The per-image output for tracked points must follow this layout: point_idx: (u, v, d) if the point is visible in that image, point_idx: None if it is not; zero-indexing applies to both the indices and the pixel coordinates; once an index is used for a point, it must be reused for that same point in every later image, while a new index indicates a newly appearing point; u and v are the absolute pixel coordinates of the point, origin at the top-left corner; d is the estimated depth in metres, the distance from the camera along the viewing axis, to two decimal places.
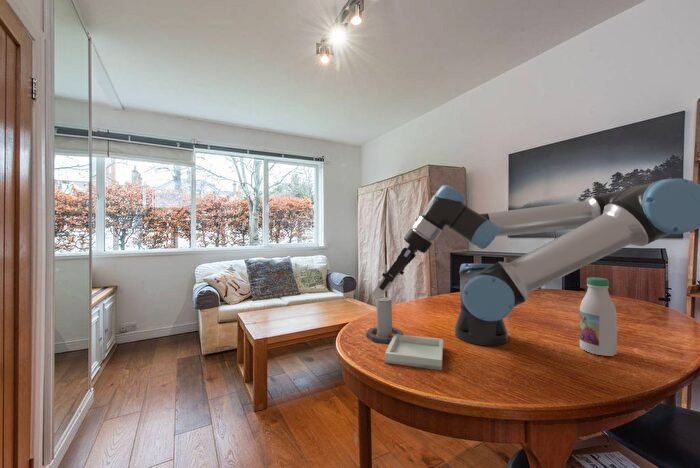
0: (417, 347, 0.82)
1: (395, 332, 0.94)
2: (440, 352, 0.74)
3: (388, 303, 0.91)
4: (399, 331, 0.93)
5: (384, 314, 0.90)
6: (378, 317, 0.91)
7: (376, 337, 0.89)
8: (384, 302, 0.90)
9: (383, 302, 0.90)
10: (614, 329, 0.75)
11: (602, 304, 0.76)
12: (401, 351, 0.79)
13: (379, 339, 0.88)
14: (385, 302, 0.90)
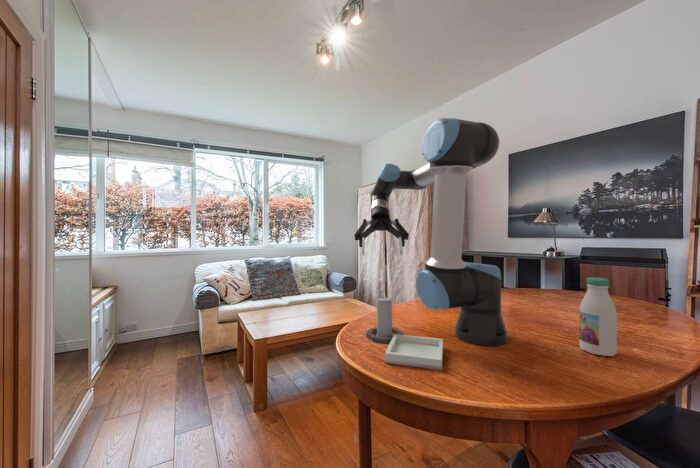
0: (417, 347, 0.82)
1: (395, 332, 0.94)
2: (440, 352, 0.74)
3: (388, 303, 0.91)
4: (399, 331, 0.93)
5: (384, 314, 0.90)
6: (378, 317, 0.91)
7: (376, 337, 0.89)
8: (384, 302, 0.90)
9: (383, 302, 0.90)
10: (614, 329, 0.75)
11: (602, 304, 0.76)
12: (401, 351, 0.79)
13: (379, 339, 0.88)
14: (385, 302, 0.90)
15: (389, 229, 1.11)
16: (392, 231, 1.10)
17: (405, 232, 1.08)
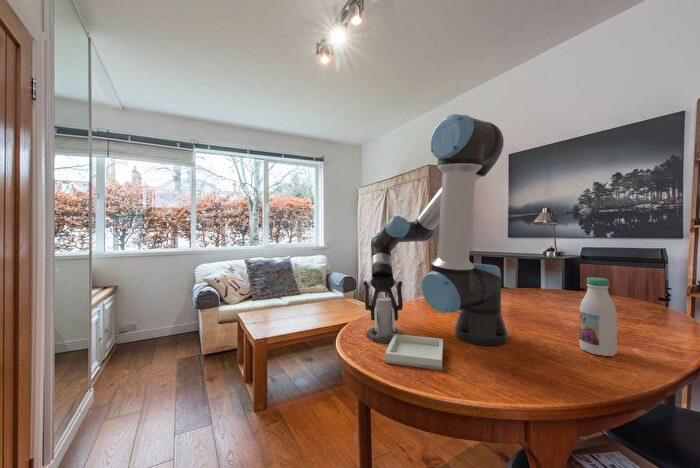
0: (417, 347, 0.82)
1: (395, 332, 0.94)
2: (440, 352, 0.74)
3: (388, 303, 0.91)
4: (399, 331, 0.93)
5: (384, 314, 0.90)
6: (378, 317, 0.91)
7: (376, 337, 0.89)
8: (384, 302, 0.90)
9: (383, 302, 0.90)
10: (614, 329, 0.75)
11: (602, 304, 0.76)
12: (401, 351, 0.79)
13: (379, 339, 0.88)
14: (385, 302, 0.90)
15: (387, 292, 0.98)
16: (389, 296, 0.97)
17: (400, 301, 0.94)
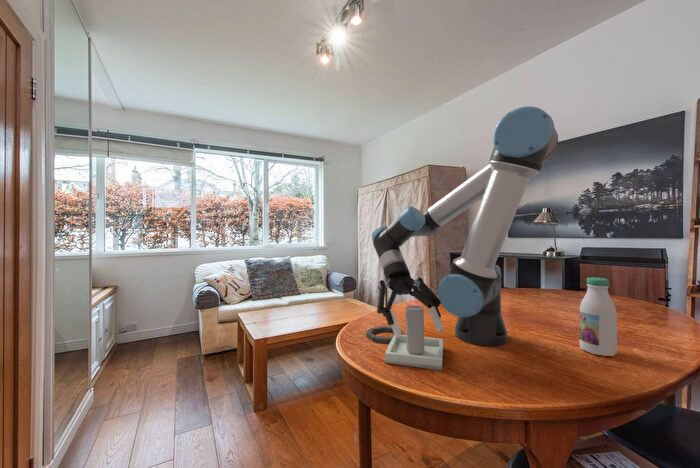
0: None
1: None
2: (440, 352, 0.74)
3: (422, 312, 0.77)
4: None
5: (418, 326, 0.77)
6: (411, 330, 0.77)
7: (376, 337, 0.89)
8: (418, 311, 0.77)
9: (417, 311, 0.77)
10: (614, 329, 0.75)
11: (602, 304, 0.76)
12: (401, 351, 0.79)
13: (379, 339, 0.88)
14: (419, 311, 0.77)
15: (414, 293, 0.85)
16: (419, 296, 0.84)
17: (436, 298, 0.84)
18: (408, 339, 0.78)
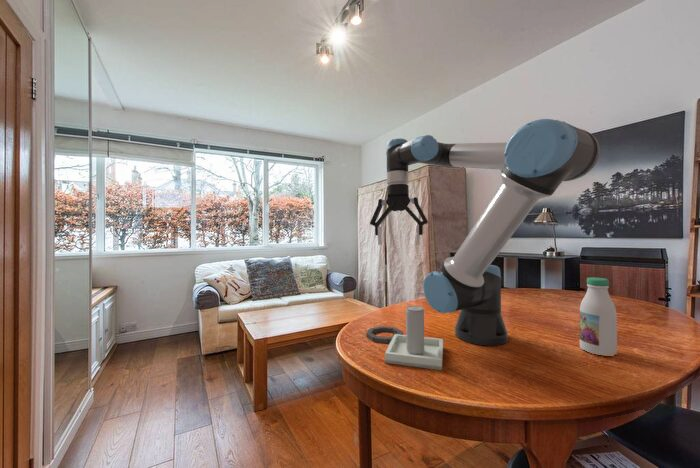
0: None
1: (395, 332, 0.94)
2: (440, 352, 0.74)
3: (422, 312, 0.77)
4: (399, 331, 0.93)
5: (419, 326, 0.76)
6: (411, 330, 0.77)
7: (376, 337, 0.89)
8: (419, 312, 0.77)
9: (418, 312, 0.76)
10: (614, 329, 0.75)
11: (602, 304, 0.76)
12: (401, 351, 0.79)
13: (379, 339, 0.88)
14: (420, 312, 0.77)
15: (407, 211, 1.01)
16: None
17: (424, 219, 0.98)
18: (408, 339, 0.78)
